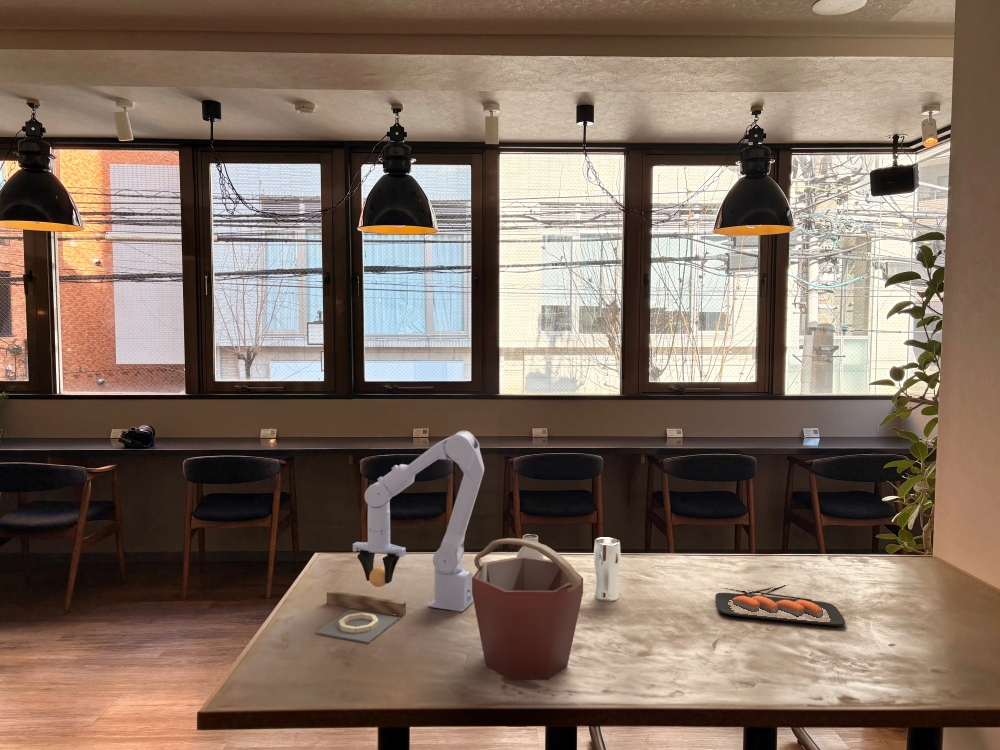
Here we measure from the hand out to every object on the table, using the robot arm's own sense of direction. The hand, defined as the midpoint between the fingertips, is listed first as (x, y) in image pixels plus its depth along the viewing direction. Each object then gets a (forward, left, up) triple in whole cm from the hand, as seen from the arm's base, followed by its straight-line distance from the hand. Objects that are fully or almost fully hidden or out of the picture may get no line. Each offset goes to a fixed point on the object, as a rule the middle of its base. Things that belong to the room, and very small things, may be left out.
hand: (379, 580), depth 169 cm
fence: (0, +7, -5) cm, 8 cm away
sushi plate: (-96, -36, -6) cm, 103 cm away
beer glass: (-55, -23, -5) cm, 60 cm away
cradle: (-4, +16, -5) cm, 17 cm away
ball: (0, 0, +1) cm, 1 cm away
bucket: (-46, +18, -5) cm, 50 cm away
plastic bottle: (-40, -3, -5) cm, 40 cm away
